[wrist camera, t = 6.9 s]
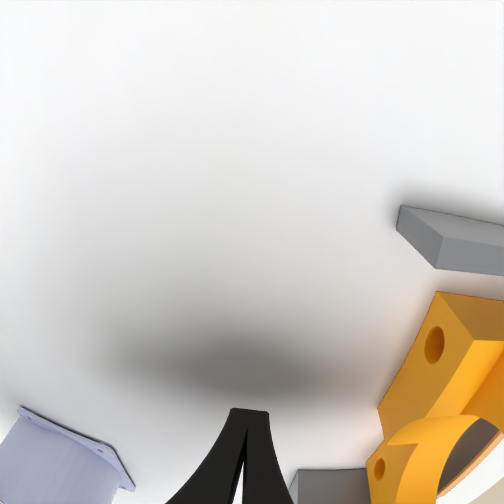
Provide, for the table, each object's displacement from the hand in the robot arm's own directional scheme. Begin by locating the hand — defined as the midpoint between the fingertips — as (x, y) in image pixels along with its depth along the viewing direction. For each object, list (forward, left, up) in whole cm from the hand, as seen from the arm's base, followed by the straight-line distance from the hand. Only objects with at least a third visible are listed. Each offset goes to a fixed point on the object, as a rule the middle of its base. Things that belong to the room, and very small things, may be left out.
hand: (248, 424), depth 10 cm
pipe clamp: (+8, -1, -2) cm, 8 cm away
